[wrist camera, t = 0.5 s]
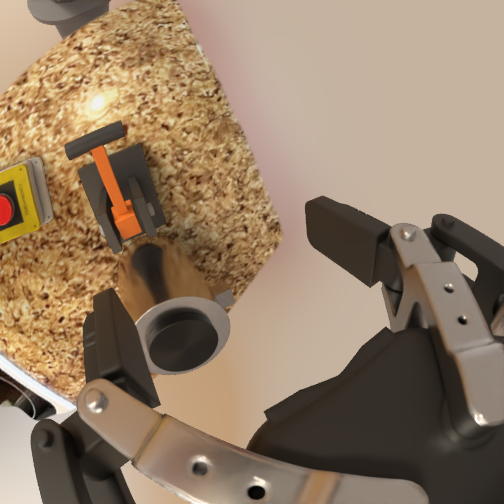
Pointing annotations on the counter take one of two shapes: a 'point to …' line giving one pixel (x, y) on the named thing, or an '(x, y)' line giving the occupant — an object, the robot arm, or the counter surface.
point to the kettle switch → (107, 174)
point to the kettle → (172, 305)
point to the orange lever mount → (124, 194)
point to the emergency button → (23, 199)
